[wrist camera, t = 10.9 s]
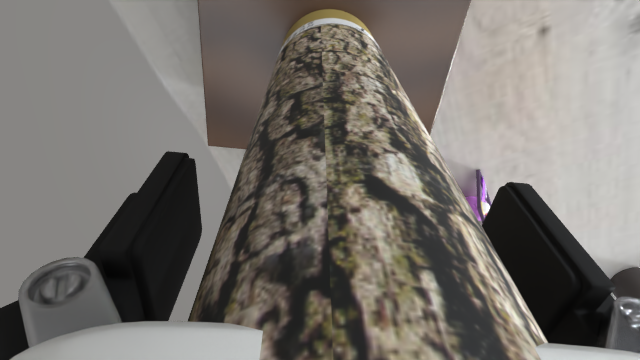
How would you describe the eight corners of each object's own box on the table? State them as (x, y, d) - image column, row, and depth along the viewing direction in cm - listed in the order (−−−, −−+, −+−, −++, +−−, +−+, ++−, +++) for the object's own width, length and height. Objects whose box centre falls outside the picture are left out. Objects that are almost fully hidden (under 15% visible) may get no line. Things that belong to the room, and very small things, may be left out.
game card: (506, 259, 43) (488, 206, 39) (461, 262, 46) (439, 213, 42) (502, 218, 48) (486, 167, 44) (462, 223, 51) (442, 175, 46)
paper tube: (292, 110, 28) (220, 592, 7) (270, 17, 25) (4, 454, 4) (379, 95, 28) (570, 575, 7) (371, -3, 24) (733, 390, 3)
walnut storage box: (229, -86, 30) (190, -96, 21) (439, -59, 31) (489, -57, 22) (233, 97, 39) (207, 146, 30) (397, 113, 40) (421, 165, 31)
